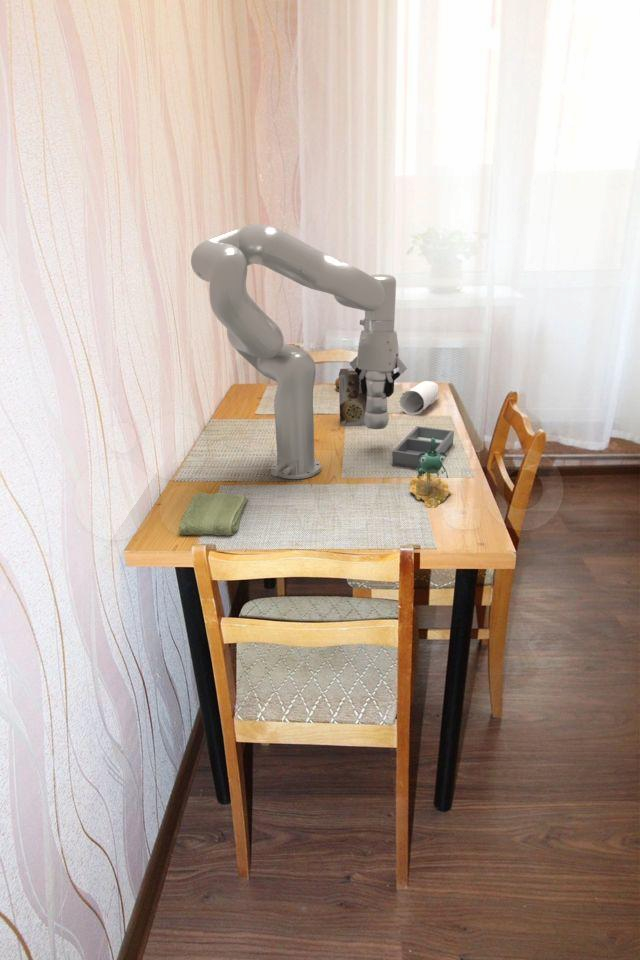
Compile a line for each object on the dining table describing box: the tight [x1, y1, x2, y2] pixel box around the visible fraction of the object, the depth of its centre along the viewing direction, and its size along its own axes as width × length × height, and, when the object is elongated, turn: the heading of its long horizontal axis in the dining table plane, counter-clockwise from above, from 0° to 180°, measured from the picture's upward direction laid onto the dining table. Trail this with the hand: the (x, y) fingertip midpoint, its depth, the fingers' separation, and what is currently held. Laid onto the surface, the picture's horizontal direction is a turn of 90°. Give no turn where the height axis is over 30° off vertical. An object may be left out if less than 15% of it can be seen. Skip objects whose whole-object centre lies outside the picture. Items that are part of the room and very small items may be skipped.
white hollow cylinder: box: [398, 380, 440, 416], centre depth 208 cm, size 8×19×8 cm, turn 149°
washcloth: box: [178, 492, 249, 537], centre depth 143 cm, size 13×18×3 cm
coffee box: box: [338, 368, 367, 427], centre depth 194 cm, size 9×6×16 cm
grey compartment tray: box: [391, 425, 455, 471], centre depth 172 cm, size 20×11×4 cm, turn 155°
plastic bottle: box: [364, 371, 390, 430], centre depth 171 cm, size 6×7×20 cm
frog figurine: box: [409, 438, 452, 509], centre depth 150 cm, size 10×18×15 cm, turn 173°
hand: (377, 393), depth 171 cm, fingers closed on plastic bottle, 6 cm apart
